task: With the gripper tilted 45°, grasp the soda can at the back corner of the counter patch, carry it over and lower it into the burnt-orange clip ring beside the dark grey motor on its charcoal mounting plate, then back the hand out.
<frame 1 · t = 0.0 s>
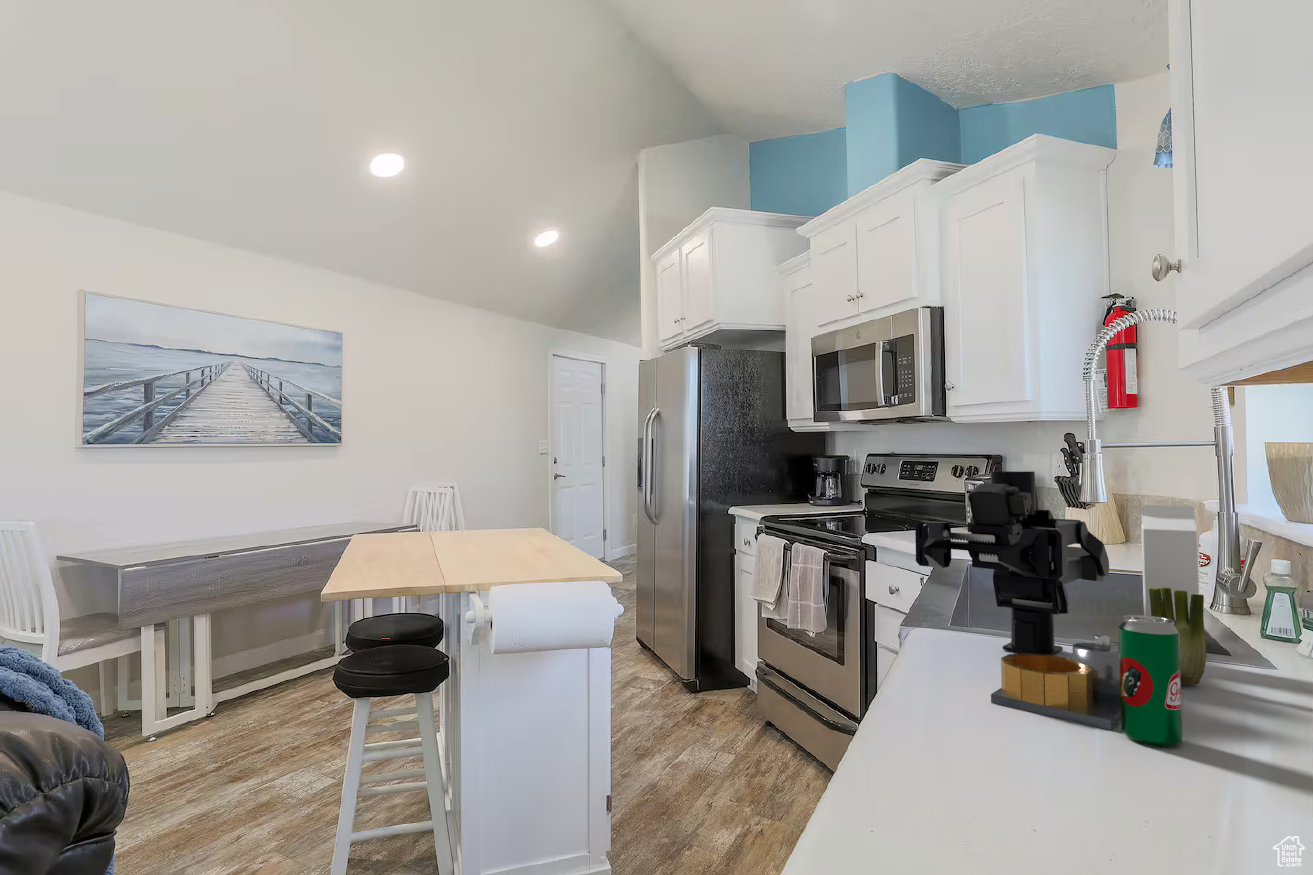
hand: (960, 553, 88), 17 cm above the countertop, tool horizontal, fingers open, 9 cm apart
soda can: (1151, 741, 71), on the countertop
milk: (1172, 665, 98), on the countertop
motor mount: (1046, 702, 82), on the countertop
fennel bulb: (1175, 684, 89), on the countertop
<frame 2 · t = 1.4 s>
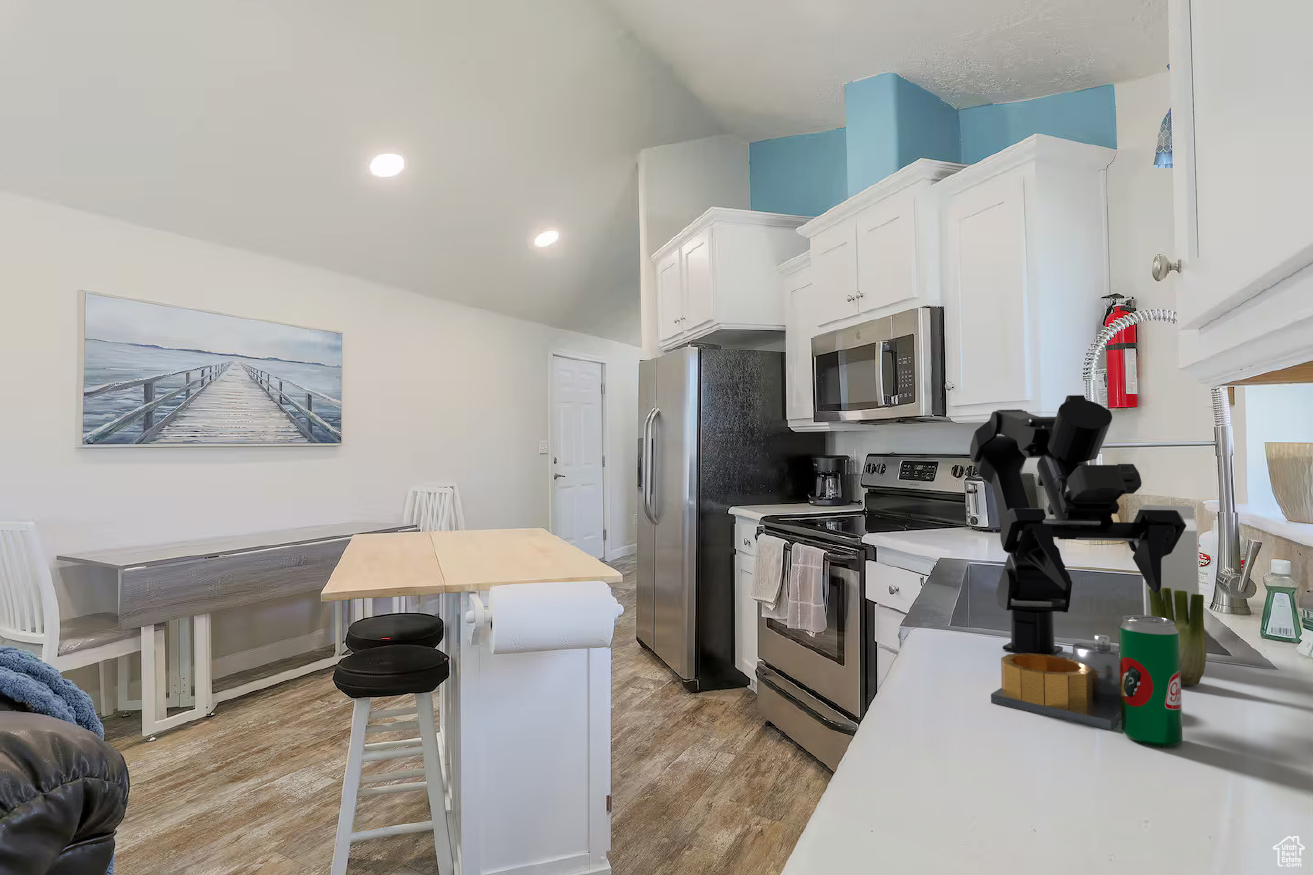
hand: (1112, 589, 79), 14 cm above the countertop, tool tilted 45°, fingers open, 9 cm apart
nothing on the countertop moved.
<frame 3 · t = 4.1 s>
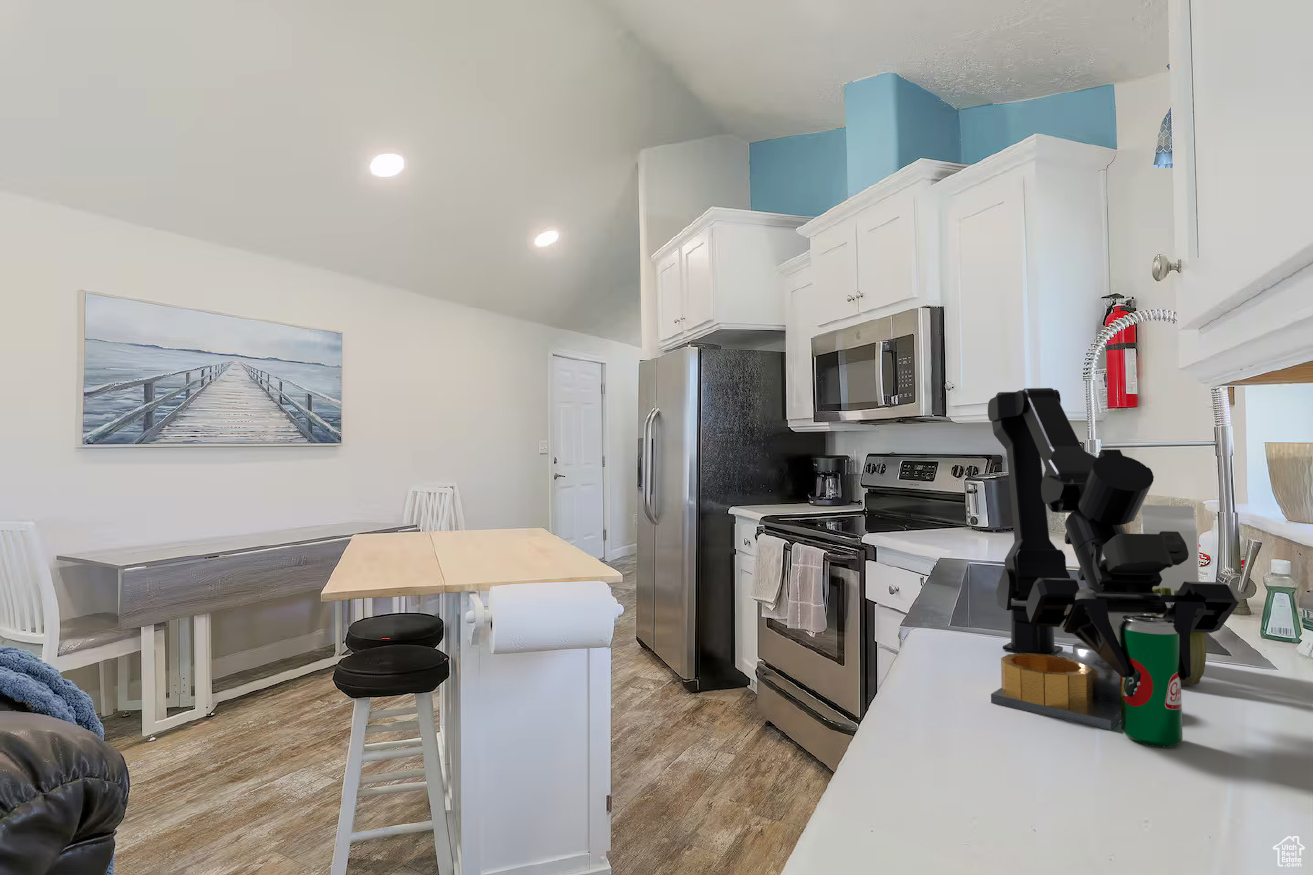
hand: (1156, 677, 70), 7 cm above the countertop, tool tilted 45°, fingers closed on soda can, 5 cm apart
soda can: (1151, 741, 71), on the countertop, touching gripper
everything else where it was.
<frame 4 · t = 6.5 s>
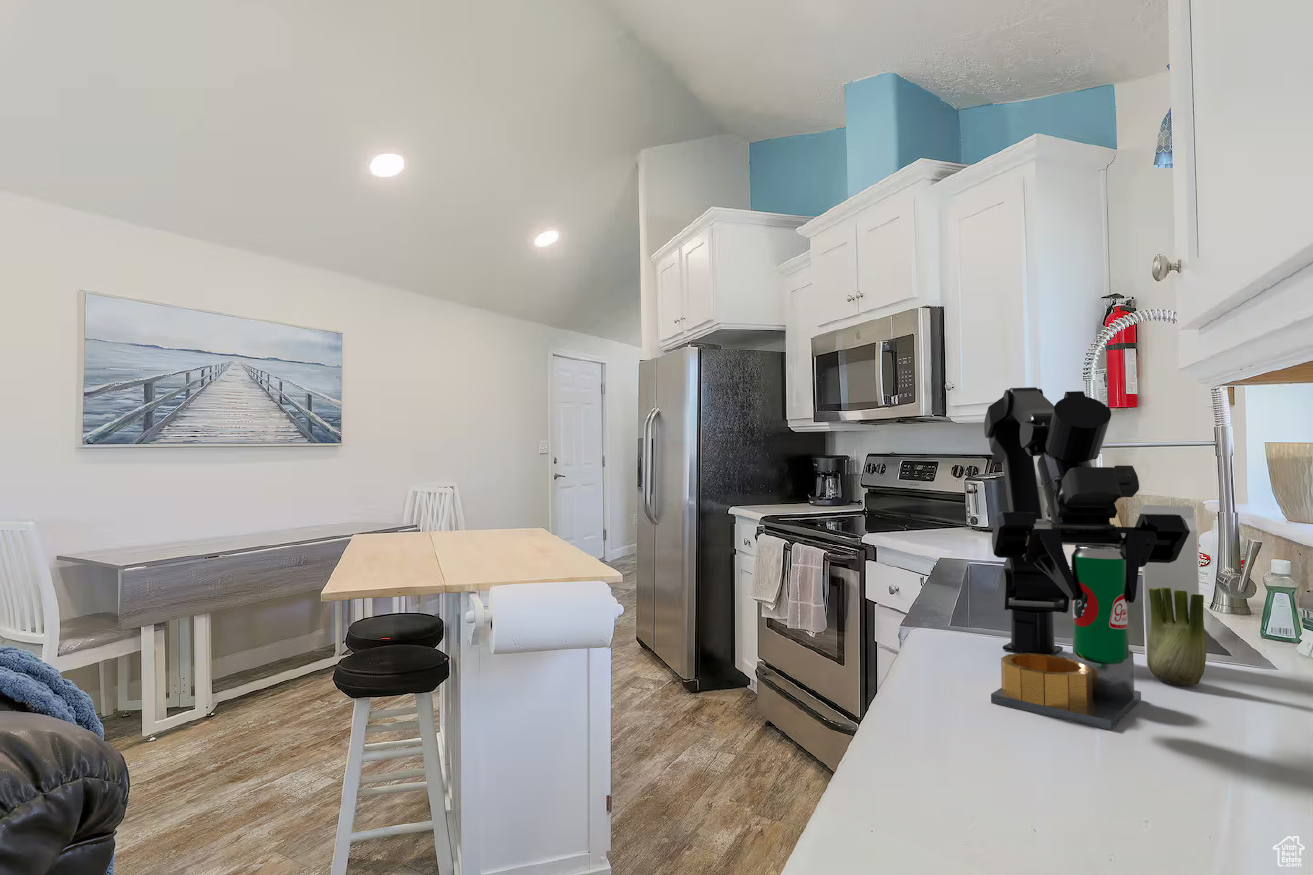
hand: (1103, 599, 75), 13 cm above the countertop, tool tilted 45°, fingers closed on soda can, 5 cm apart
soda can: (1100, 660, 76), point 7 cm above the countertop, touching gripper
everything else where it was.
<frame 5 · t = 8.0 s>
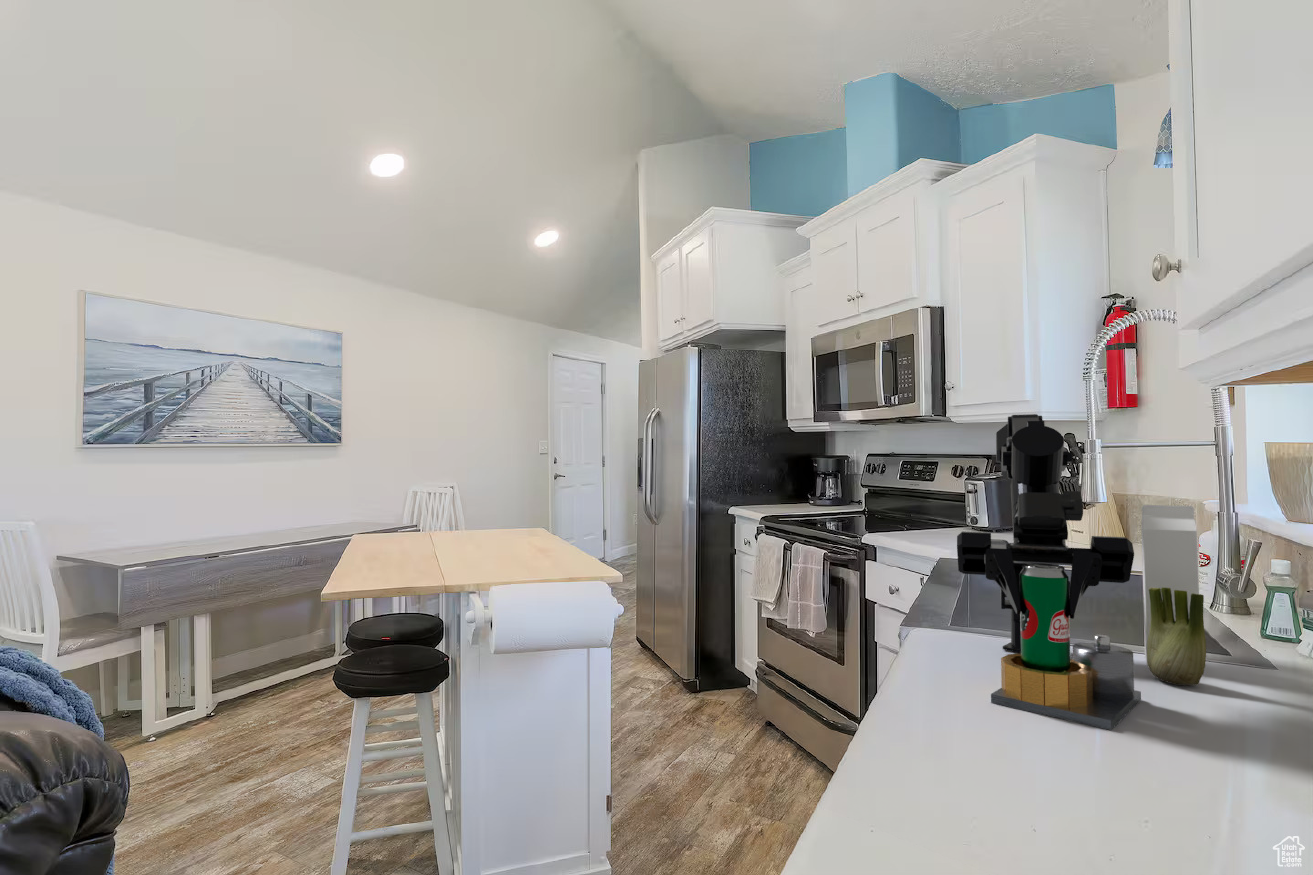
hand: (1045, 614, 81), 10 cm above the countertop, tool tilted 45°, fingers closed on soda can, 5 cm apart
soda can: (1045, 671, 82), point 4 cm above the countertop, touching gripper
everything else where it was.
when the fingers open (9 cm above the countertop, at t = 8.7 s): soda can drops 1 cm, resting on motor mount.
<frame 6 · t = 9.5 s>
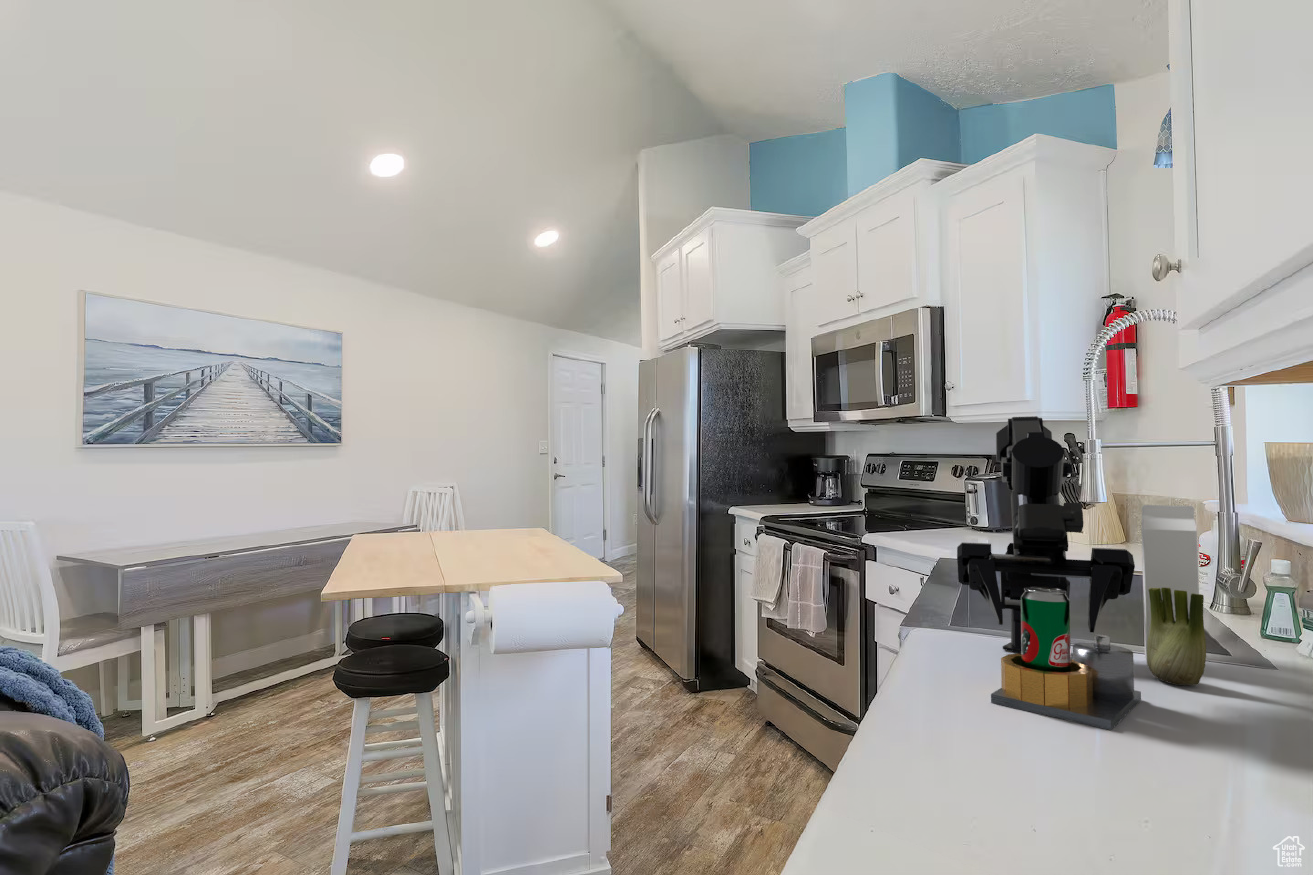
hand: (1045, 626, 81), 9 cm above the countertop, tool tilted 45°, fingers open, 9 cm apart
soda can: (1046, 695, 82), point 1 cm above the countertop, touching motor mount
everything else where it was.
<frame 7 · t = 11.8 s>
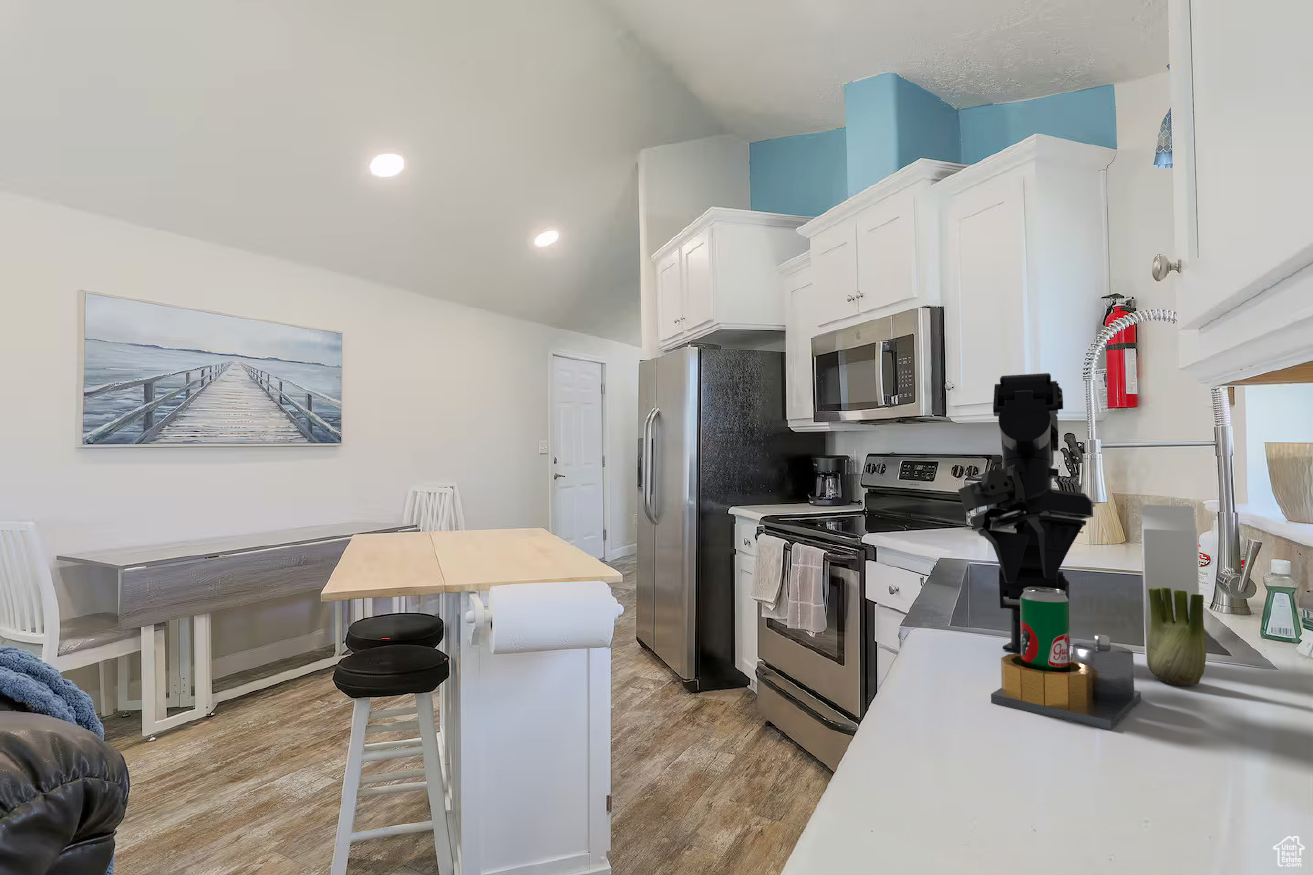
hand: (1028, 580, 91), 13 cm above the countertop, tool pointing down, fingers open, 9 cm apart
nothing on the countertop moved.
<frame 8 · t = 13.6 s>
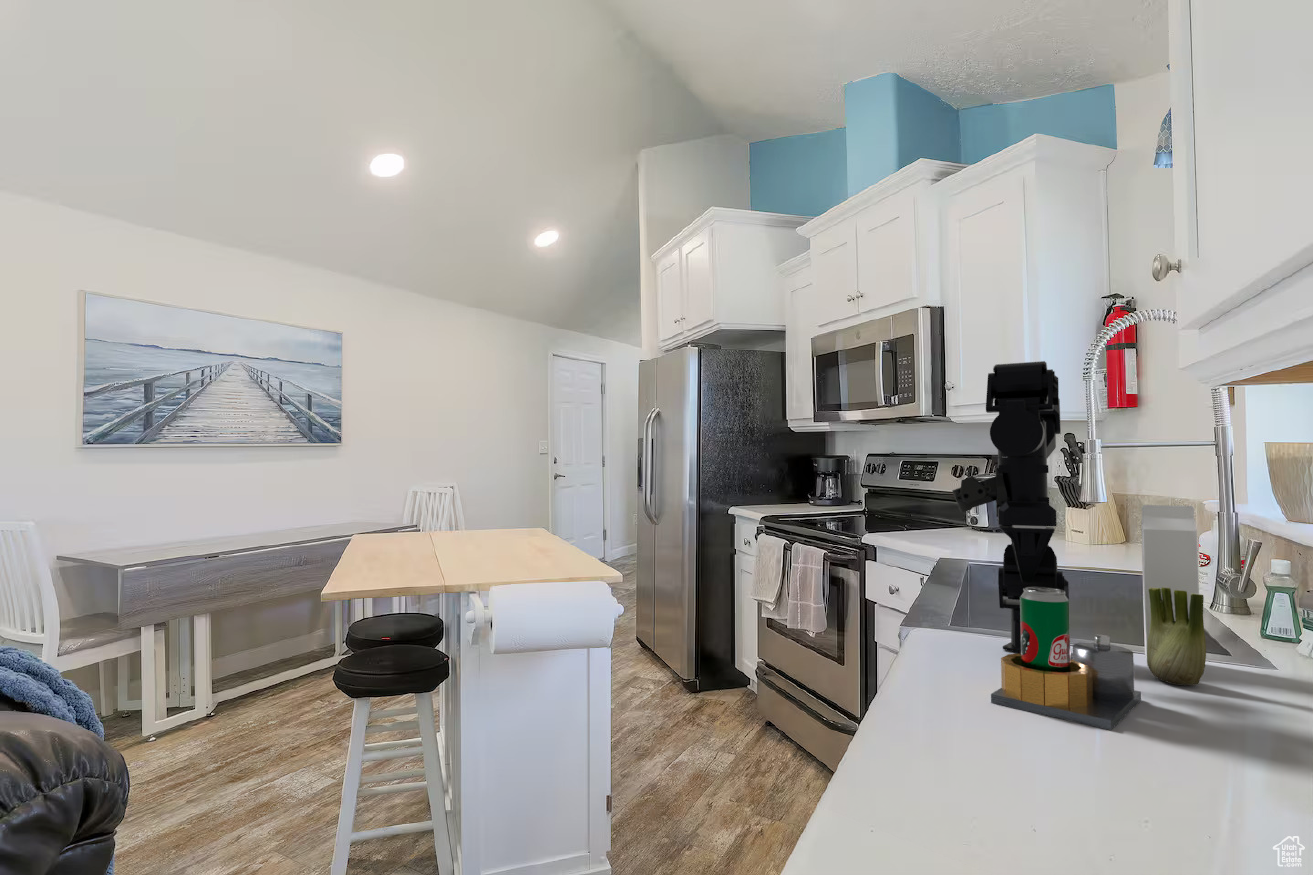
hand: (1024, 576, 92), 13 cm above the countertop, tool pointing down, fingers open, 9 cm apart
nothing on the countertop moved.
at the end: soda can 0.1 cm off-centre on the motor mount, point 0.8 cm above the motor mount's base; soda can tilted 0°; the gripper is holding nothing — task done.
